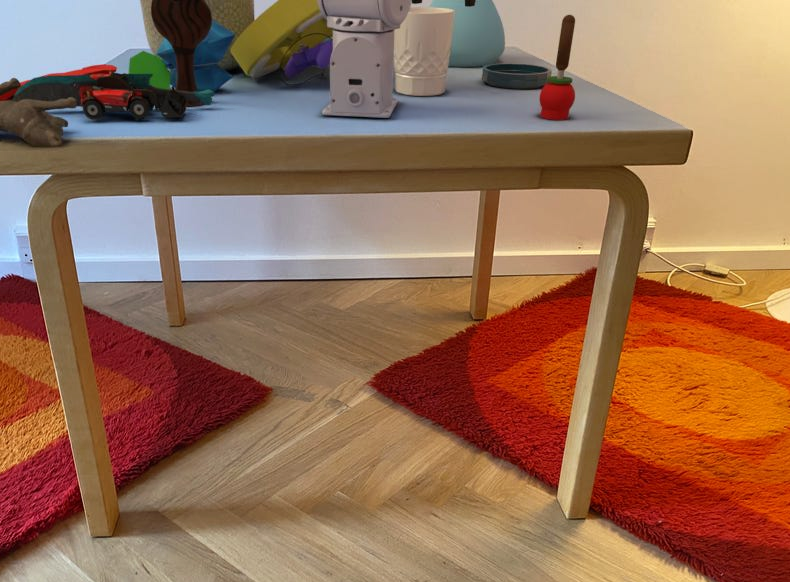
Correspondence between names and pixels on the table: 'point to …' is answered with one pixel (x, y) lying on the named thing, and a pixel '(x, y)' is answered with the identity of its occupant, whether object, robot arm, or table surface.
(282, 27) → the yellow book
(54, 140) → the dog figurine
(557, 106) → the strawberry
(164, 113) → the loader
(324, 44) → the game controller
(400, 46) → the white cup
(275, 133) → the table surface
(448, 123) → the table surface
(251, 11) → the planter
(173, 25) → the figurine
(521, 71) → the dish
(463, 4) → the sugar bowl
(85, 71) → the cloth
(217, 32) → the crystal
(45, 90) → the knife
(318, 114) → the table surface
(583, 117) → the table surface
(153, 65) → the gemstone
